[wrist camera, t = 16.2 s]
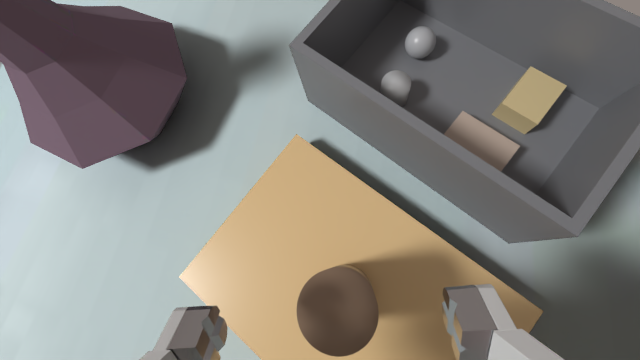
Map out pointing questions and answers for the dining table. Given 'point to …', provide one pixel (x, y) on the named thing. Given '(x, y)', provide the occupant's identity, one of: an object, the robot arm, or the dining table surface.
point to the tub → (486, 100)
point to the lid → (334, 269)
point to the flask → (90, 76)
